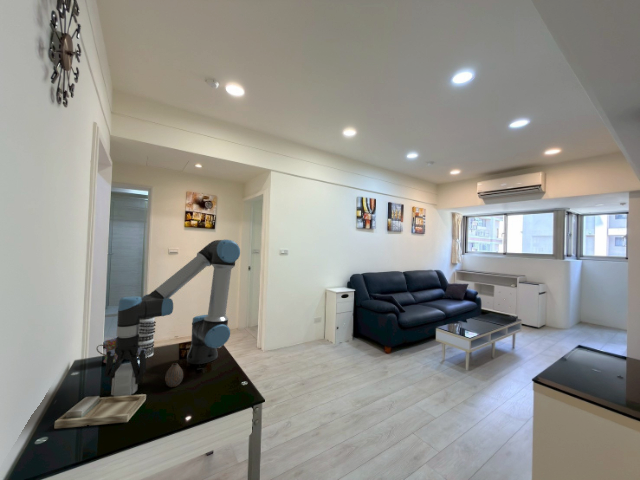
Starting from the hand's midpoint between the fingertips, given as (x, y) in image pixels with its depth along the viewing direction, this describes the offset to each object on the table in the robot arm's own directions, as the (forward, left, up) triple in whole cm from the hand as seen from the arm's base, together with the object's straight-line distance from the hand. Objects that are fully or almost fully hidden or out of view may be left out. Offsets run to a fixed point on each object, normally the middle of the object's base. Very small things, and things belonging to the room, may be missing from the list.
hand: (124, 392), depth 103 cm
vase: (-17, -4, 0) cm, 18 cm away
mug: (+23, -33, 0) cm, 40 cm away
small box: (0, 0, -1) cm, 1 cm away
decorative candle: (+10, -39, 0) cm, 40 cm away
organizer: (0, +13, 0) cm, 13 cm away
